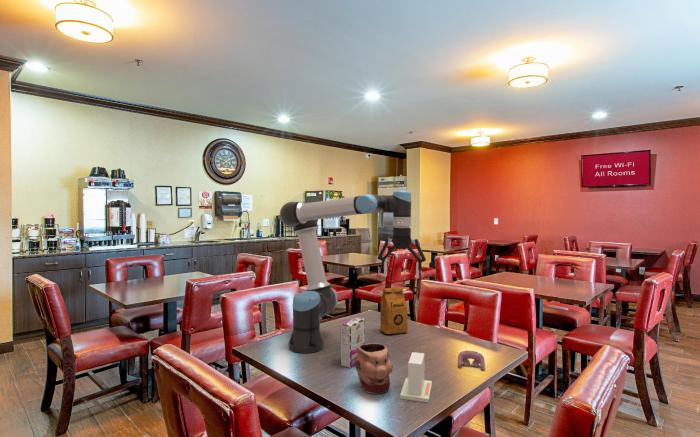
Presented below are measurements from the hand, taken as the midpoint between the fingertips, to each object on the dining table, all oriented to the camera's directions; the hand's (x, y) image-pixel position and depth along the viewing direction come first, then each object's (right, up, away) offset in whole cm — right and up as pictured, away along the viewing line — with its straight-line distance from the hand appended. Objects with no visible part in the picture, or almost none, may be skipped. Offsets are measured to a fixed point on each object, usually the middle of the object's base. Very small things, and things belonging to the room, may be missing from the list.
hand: (401, 277), depth 165 cm
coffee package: (0, -31, +25) cm, 40 cm away
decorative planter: (-14, -33, -32) cm, 48 cm away
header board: (0, -33, -36) cm, 48 cm away
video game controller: (+25, -32, -16) cm, 44 cm away
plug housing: (0, -31, -36) cm, 48 cm away
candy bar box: (-21, -32, -12) cm, 40 cm away
